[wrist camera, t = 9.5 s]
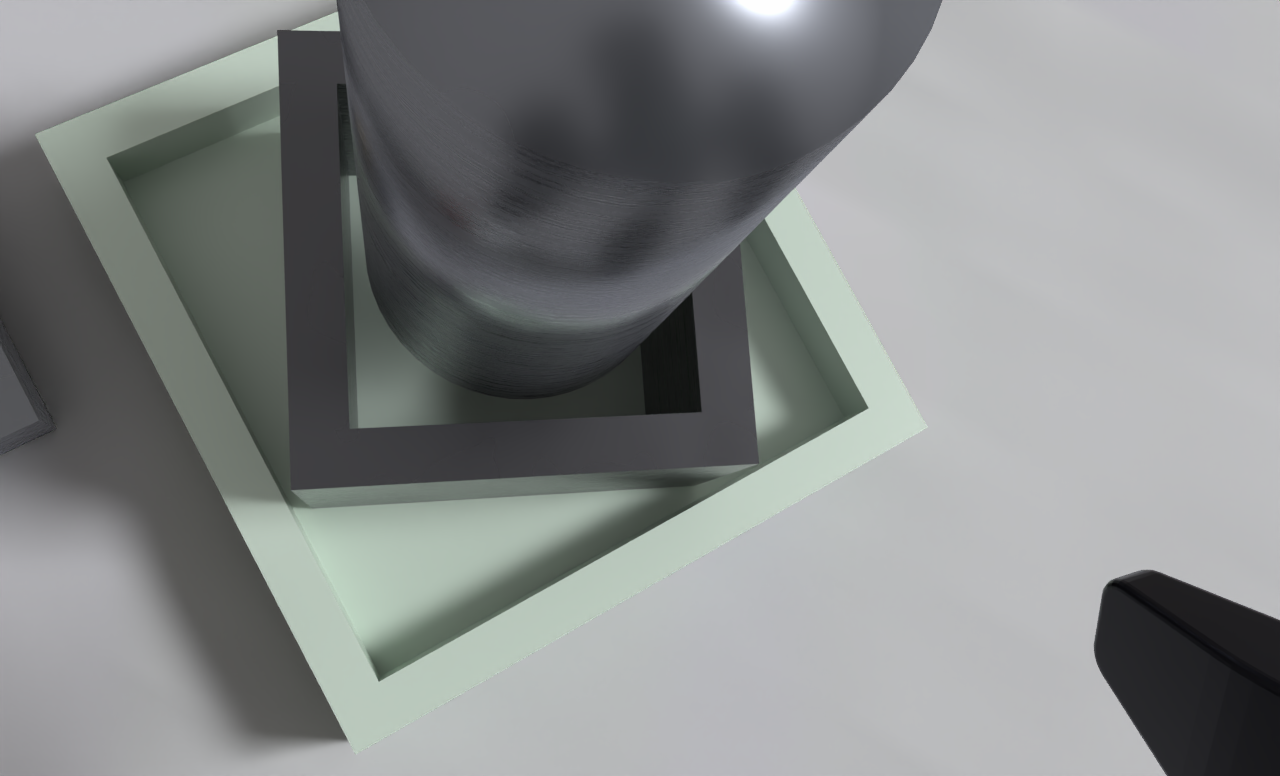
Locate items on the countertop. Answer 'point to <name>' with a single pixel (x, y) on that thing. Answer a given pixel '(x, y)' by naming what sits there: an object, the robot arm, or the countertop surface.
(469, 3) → the grey cylinder in socket
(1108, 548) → the countertop surface
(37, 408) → the base
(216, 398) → the tray
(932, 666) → the countertop surface
